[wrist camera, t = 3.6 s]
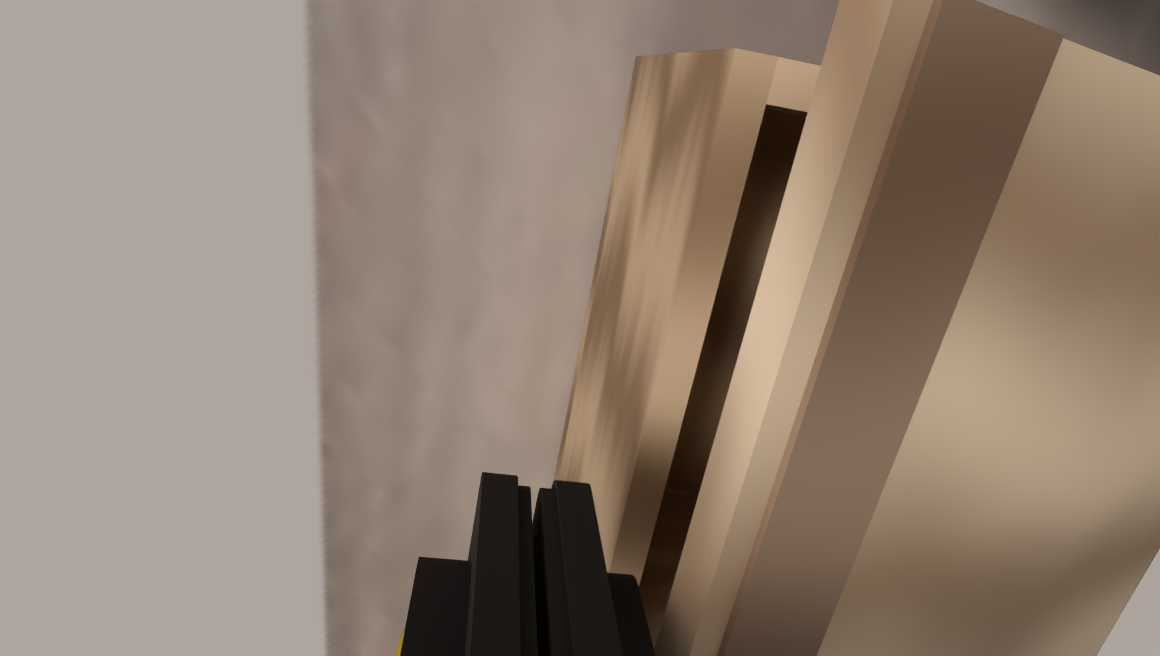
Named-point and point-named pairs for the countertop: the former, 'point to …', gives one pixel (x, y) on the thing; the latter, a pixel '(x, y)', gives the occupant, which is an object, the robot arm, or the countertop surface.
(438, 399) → the countertop surface
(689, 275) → the light brown boxy piece
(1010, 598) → the lid flap
